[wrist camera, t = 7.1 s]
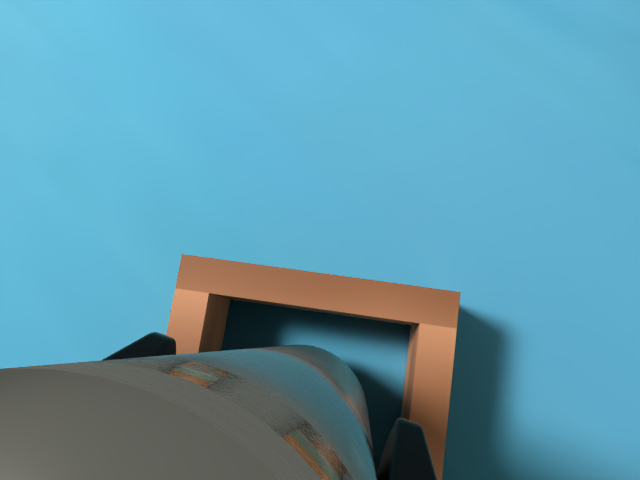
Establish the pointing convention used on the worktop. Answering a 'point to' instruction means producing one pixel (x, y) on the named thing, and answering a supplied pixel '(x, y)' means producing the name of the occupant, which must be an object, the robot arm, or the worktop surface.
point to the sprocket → (334, 298)
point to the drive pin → (188, 418)
